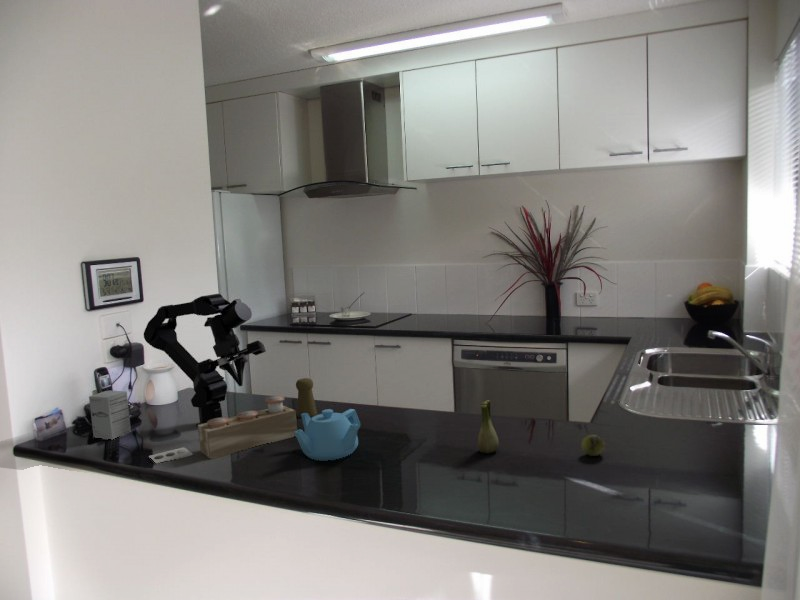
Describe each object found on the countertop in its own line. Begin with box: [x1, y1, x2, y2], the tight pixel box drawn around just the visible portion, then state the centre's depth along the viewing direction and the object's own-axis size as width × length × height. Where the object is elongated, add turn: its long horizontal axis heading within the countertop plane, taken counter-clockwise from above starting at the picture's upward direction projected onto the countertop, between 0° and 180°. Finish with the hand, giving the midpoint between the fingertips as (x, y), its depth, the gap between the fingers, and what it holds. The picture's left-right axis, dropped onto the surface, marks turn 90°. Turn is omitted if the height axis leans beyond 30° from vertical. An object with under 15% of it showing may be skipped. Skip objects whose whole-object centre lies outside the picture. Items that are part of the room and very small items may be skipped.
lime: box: [580, 434, 606, 457], centre depth 140 cm, size 4×5×5 cm
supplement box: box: [88, 390, 132, 441], centre depth 180 cm, size 7×7×13 cm
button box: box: [197, 404, 298, 460], centre depth 165 cm, size 8×24×7 cm, turn 126°
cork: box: [295, 377, 318, 418], centre depth 189 cm, size 6×6×11 cm
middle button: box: [236, 410, 258, 421], centre depth 165 cm, size 5×5×5 cm
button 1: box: [207, 416, 229, 429], centre depth 160 cm, size 5×5×5 cm
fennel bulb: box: [477, 400, 500, 454], centre depth 147 cm, size 6×5×12 cm
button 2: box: [264, 395, 285, 415], centre depth 169 cm, size 5×5×5 cm
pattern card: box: [148, 446, 193, 464], centre depth 159 cm, size 7×9×1 cm
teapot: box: [294, 408, 362, 462], centre depth 153 cm, size 15×15×11 cm
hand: (240, 385), depth 175 cm, fingers closed
